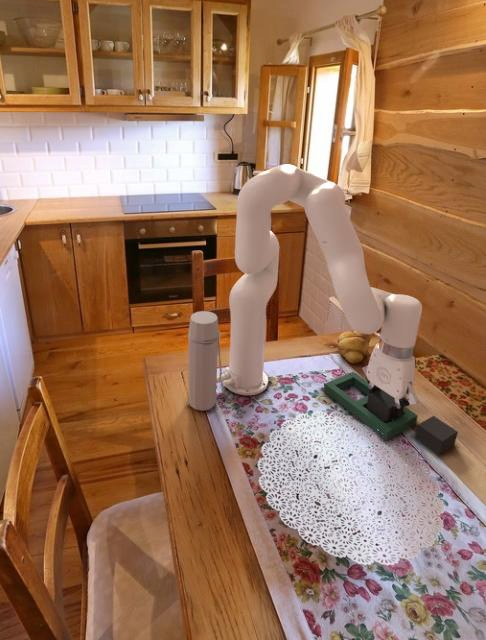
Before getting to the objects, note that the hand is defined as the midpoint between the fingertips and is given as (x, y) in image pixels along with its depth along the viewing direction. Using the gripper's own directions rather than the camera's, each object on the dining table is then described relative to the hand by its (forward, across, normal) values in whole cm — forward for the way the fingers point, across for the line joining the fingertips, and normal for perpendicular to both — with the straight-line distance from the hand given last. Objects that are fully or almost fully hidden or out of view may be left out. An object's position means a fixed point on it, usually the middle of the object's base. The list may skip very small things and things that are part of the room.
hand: (384, 408), depth 101 cm
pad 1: (+1, 0, 0) cm, 1 cm away
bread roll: (+3, -24, +15) cm, 28 cm away
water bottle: (+3, -27, -36) cm, 45 cm away
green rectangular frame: (+3, -5, 0) cm, 5 cm away
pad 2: (+3, +11, +4) cm, 12 cm away
